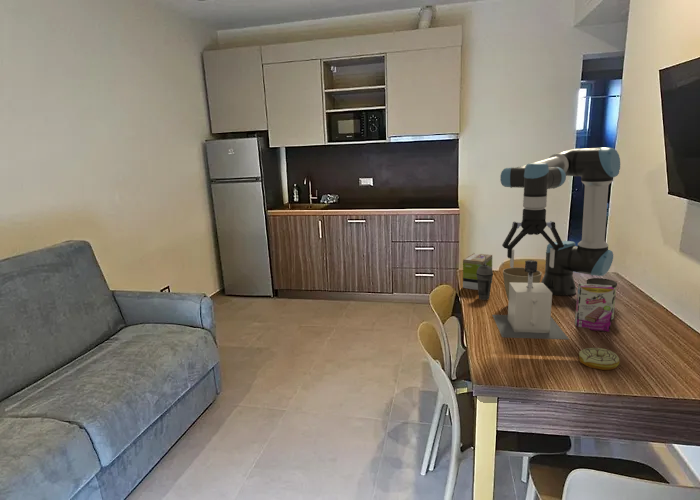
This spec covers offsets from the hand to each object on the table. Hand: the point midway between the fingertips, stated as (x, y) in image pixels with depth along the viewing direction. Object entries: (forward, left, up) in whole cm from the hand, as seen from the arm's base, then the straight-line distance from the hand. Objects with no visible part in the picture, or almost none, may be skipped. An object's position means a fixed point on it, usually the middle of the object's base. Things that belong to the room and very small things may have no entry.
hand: (531, 266), depth 155 cm
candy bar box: (-23, -2, -24) cm, 33 cm away
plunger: (0, 0, -22) cm, 22 cm away
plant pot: (-2, -22, -24) cm, 32 cm away
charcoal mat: (0, 0, -24) cm, 24 cm away
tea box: (+12, -53, -24) cm, 60 cm away
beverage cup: (+11, -34, -24) cm, 43 cm away
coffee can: (-30, -15, -24) cm, 41 cm away
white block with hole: (0, +2, -23) cm, 23 cm away
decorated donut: (-15, +26, -24) cm, 38 cm away
